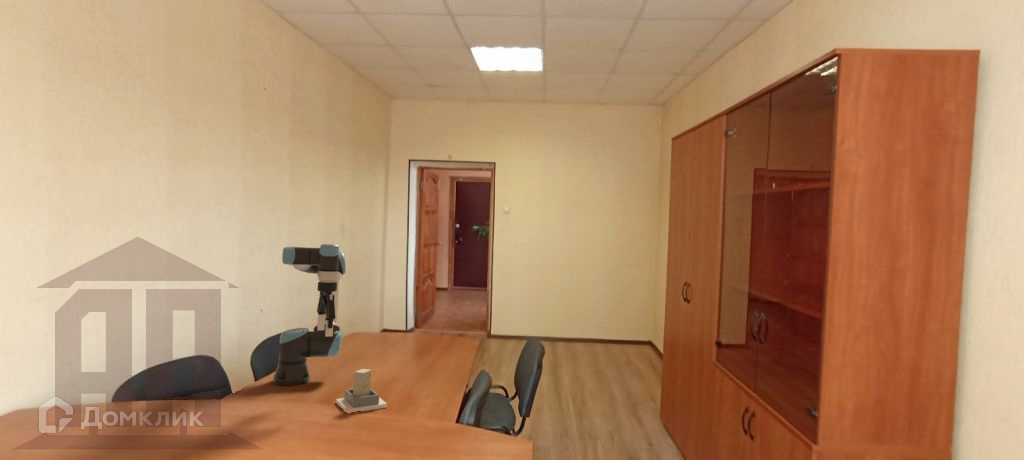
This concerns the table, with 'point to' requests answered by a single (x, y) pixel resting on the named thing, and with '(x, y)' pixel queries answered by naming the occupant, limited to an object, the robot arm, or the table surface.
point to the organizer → (361, 401)
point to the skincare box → (362, 383)
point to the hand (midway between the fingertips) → (324, 333)
